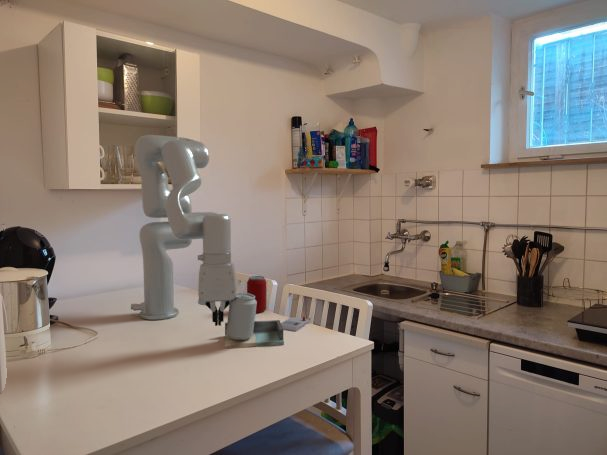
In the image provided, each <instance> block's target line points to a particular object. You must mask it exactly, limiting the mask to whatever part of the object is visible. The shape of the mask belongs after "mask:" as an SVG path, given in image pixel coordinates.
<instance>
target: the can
mask: <svg viewBox="0 0 607 455" xmlns="http://www.w3.org/2000/svg"><path fill="white" fill-rule="evenodd" d="M256 305H257V301H256V300H255V296H254V295H252V294H248V293H247V292H236V298H235V299H234V300H231V301H230V305H228V307H229V308H228V313H227V314H228V315H227V322H226V323H227V329H226V333H227V335H228V336H229V337H230V338H232V339H236V340H246V339H249V338H250V337H251V336H252V335H253V329H254V321H256V320H255V319H256V314H257V313H256Z"/></svg>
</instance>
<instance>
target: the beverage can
mask: <svg viewBox="0 0 607 455" xmlns="http://www.w3.org/2000/svg"><path fill="white" fill-rule="evenodd" d="M246 283H247V284H246V293H248V294H252V295H254V296H255V300H256V301H257V305H256V313H255V314H261V313H263V312H265V311H266V310H267V280H266V279H265V276H261V275H253V276H250V277H248V280H247V282H246Z"/></svg>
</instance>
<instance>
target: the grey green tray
mask: <svg viewBox="0 0 607 455" xmlns="http://www.w3.org/2000/svg"><path fill="white" fill-rule="evenodd" d="M281 323H282V322H281V320H280V319H275V320H274V319H273V320H255V321H254V329H253V335H252V336H251V337H250V338H249V339H246V340H236V339H232V338H230V337H229V336H228V335H227V333H226V329H227V322H224V333H225V334H224V348H225V349H229V348H230V349H232V348H249V347H251V348H252V347H265V346H268V347H269V346H284V345H285V340H284V330H283V327H282V325H281Z"/></svg>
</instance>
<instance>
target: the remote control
mask: <svg viewBox="0 0 607 455" xmlns="http://www.w3.org/2000/svg"><path fill="white" fill-rule="evenodd" d="M311 319H312V317H309V318H306V317H305V316H302V317H298V316H297V317H293V316H291V317H289V318H288V319H286V320H284V321H282V322H281V325H282V327H283V331H287V332H288V331H290V332H295V333H296V332H298V331H300V330H301V329H303V328H304V327H306V326H307V325H309V324H310V321H311ZM306 324H307V325H306ZM305 325H306V326H305ZM302 327H303V328H302Z"/></svg>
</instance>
